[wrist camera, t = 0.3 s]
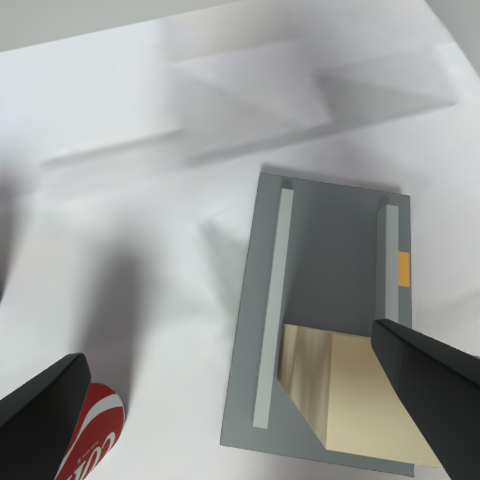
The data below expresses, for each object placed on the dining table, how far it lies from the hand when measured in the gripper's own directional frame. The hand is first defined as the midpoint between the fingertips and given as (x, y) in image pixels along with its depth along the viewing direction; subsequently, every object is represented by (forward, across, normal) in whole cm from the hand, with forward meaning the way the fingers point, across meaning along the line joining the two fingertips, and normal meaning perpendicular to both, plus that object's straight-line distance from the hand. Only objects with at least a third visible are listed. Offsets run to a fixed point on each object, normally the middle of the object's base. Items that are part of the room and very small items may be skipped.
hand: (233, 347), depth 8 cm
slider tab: (+9, -7, +10) cm, 15 cm away
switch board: (+13, -8, +8) cm, 17 cm away
